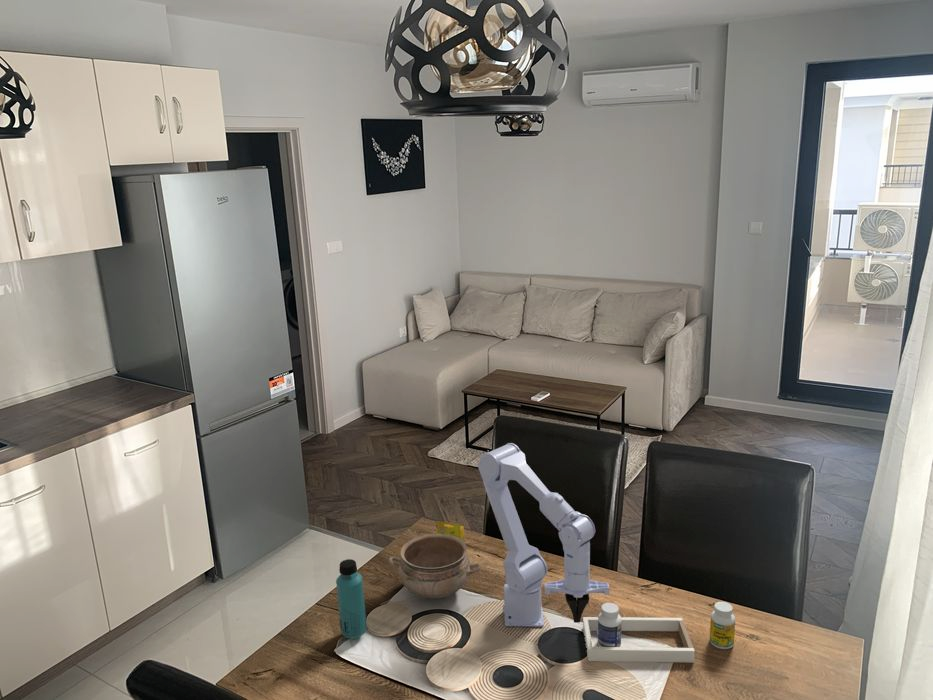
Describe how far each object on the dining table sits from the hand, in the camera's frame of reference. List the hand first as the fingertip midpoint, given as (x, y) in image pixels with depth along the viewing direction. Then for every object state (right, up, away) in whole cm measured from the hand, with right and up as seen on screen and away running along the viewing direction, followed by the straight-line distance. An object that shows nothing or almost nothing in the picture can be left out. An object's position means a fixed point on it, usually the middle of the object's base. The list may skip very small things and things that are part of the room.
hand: (576, 619), depth 164 cm
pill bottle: (+8, -6, +1) cm, 10 cm away
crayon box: (-30, +2, +41) cm, 50 cm away
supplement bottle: (+34, -6, 0) cm, 34 cm away
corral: (+14, -6, +1) cm, 15 cm away
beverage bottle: (-53, -7, +7) cm, 54 cm away
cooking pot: (-34, -2, +24) cm, 42 cm away
